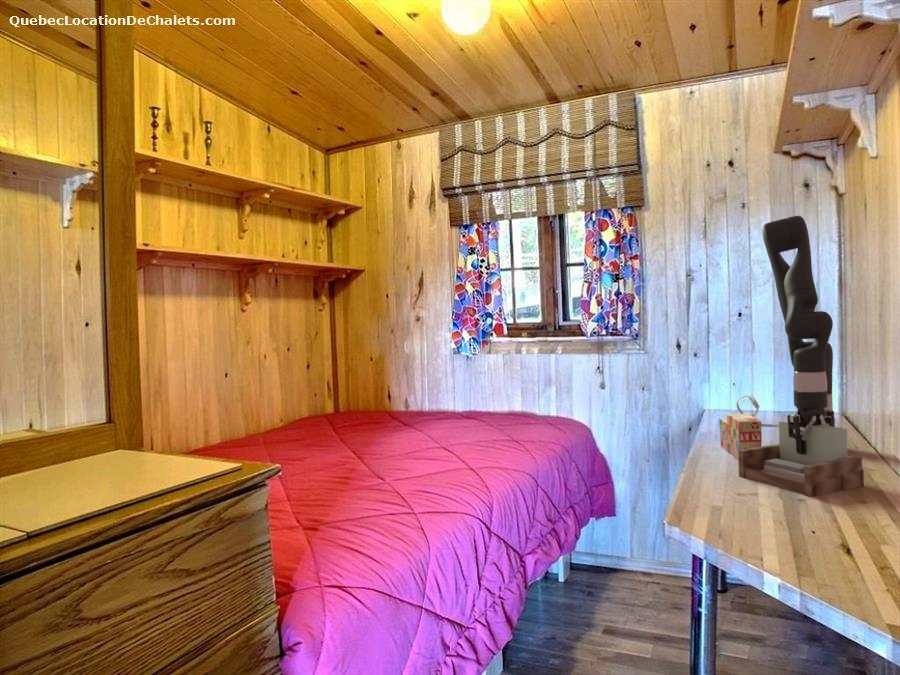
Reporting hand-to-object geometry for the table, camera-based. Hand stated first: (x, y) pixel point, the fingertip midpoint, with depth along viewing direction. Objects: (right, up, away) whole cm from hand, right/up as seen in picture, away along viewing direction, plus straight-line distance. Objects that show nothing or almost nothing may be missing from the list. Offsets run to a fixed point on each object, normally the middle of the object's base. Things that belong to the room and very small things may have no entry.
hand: (812, 452), depth 155 cm
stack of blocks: (-4, -6, +30) cm, 31 cm away
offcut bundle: (-7, -8, -2) cm, 11 cm away
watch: (+21, -4, +74) cm, 77 cm away
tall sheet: (0, -7, 0) cm, 7 cm away
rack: (-4, -7, -2) cm, 8 cm away
